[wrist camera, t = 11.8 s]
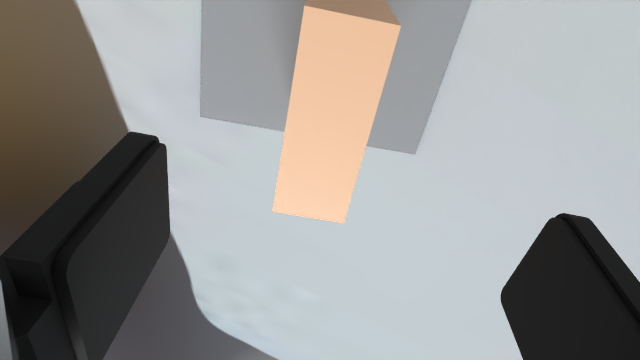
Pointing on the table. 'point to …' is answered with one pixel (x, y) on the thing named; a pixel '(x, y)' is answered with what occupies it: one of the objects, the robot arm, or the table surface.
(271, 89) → the rubber mat
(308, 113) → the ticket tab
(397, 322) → the table surface
